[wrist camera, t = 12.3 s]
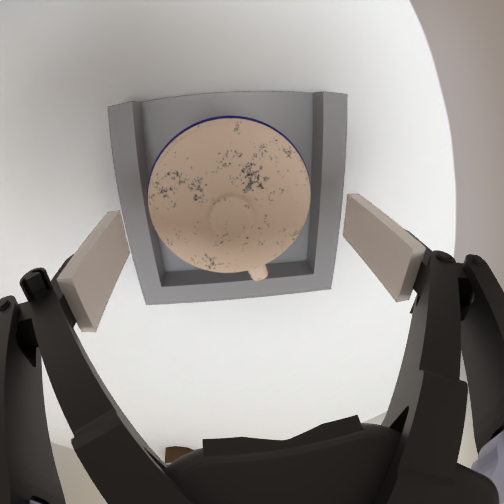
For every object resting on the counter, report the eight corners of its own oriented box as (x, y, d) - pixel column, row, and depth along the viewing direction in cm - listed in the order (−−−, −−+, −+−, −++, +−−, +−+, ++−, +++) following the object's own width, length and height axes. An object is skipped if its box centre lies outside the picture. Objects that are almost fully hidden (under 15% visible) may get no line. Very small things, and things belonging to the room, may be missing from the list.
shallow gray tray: (122, 106, 19) (107, 106, 16) (330, 95, 21) (347, 94, 18) (152, 284, 28) (146, 304, 25) (319, 270, 30) (330, 288, 27)
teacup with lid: (155, 138, 20) (98, 167, 10) (261, 100, 20) (304, 91, 10) (206, 258, 26) (203, 354, 16) (298, 228, 26) (348, 309, 16)
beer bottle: (172, 443, 49) (173, 536, 28) (202, 450, 52) (208, 538, 31) (159, 450, 51) (158, 534, 31) (186, 457, 54) (190, 537, 34)
